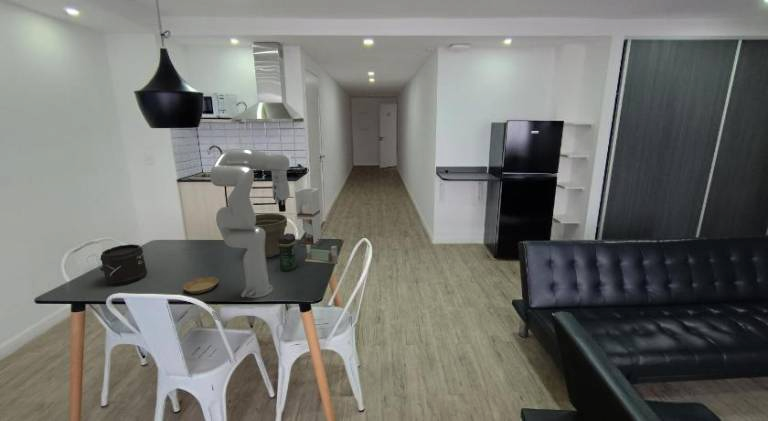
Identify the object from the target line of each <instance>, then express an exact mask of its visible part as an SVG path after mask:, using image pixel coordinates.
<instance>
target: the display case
mask: <svg viewBox="0 0 768 421" xmlns="http://www.w3.org/2000/svg"><path fill="white" fill-rule="evenodd" d="M319 190H320V189H319V188H309V187H308V188H301V189H298V190H296V191H295V192H294V193H295V194H294V195H295V204H296V205H295V208H296V218H297V219H296V220H302V221H301V222H302V229H303V231H304V232H305V233H307V234H306V235H307V236H306V237H304V238H303V239H302V240H301V241H299V244H298V246H300V247H306V245H308V244H309V245H311V248H312V247H313V248H315V247H317V246H318V245H319V244H320V243H321V242H322V241H323V238H322V224H321V223H322V222H321V220H322V219H321V206H320V205H321V204H320V191H319ZM318 239H322V240H318Z"/></svg>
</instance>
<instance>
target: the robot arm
mask: <svg viewBox="0 0 768 421" xmlns="http://www.w3.org/2000/svg"><path fill="white" fill-rule="evenodd" d="M290 164H291V163H290V159H289V158H288V156H287V155H284V154H279V153H270V152H265V151H259V150H253V149H251V148H229V149H226V150H224V151H223V152H222V154H221V155H220V156H219V157H218V159H217V160H216V161H215V163H214V164H213V166H212V168H211V169H210V172H209V179H210V181H211V183H212V184H213V185H214V186H216V187H228V188H230V187H231V188H232V187H233V189H232V191H231V192H230V194H229V196H228V198H227V205H228V206H223V207H220V208H219V209H218V210H217V212H216V215H215V216H216V217H215V221H216V226H217V228H218V230H219V232H220V234H221V237H222V240H223V241H224V243H225V245H226V246H227V247H230V248H245V249H247V250H246V251H245V253H244V255H243V258H242V259H243V260H242V261H243V267H244V277H245V285H246V286H245V289H244V290H243V291H242V293H241V294H240V296H241V297H242V298H245V297H246V298H250V299H257V298H262V297H266V296H268V295H269V294H271V293H272V292H273V290H274V289H273V286H272V284H269V277H268V267H267V257H266V255H265V240H266V233H265V231H264V229H262V228H260V227H257V226H255V224H256V216H255V215H256V213H255V211H254V208H253V204H252V203H251V199H250V198H251V197H250V194H251V191H252V187H253V183H254V180H255V174H254V170H256V171H266V172H271V181H272V185H271V186H272V187H271V188H272V189H271V190H272V199H273V200H274V202H275V203H276V204H277V205H278V212H279V213H284V212H286V211H287V210H286V209H287V208H286V204H287V199H288V198H290V196H291V192H290V186H289V181H288V177H287V171H288V170H289V168H290Z"/></svg>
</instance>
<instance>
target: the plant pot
mask: <svg viewBox="0 0 768 421" xmlns="http://www.w3.org/2000/svg"><path fill="white" fill-rule="evenodd" d="M255 216H256V224H255V226H257V227H260V228H262V229H264V231H265V233H266V240H265V255H266V258H272V257H275V256H277V255H280V253H279V245H278V238H280V237H281V236H283V235H285V230H286V227H288V226H287V225H288V217H287V216H286V215H284V214H280V213H260V214H255Z"/></svg>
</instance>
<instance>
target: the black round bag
mask: <svg viewBox="0 0 768 421" xmlns="http://www.w3.org/2000/svg"><path fill="white" fill-rule="evenodd" d="M99 259H100V261H101V265H102V266H101V267H100V268H99V269H100V272H103V275H104V282H105V283H107V284H108V285H109V286H115V287H116V286H125V285H130V284H133V283H136V282H139V281H141V280H143V279H144V278H146V275H147V273H148V270H147V267H146V266H147V265H146V260H145V256H144V250H143V247H142V246H140V244H131V243H130V244H124V245H117V246H114V247H111V248H108V249H106V250H105V249H104V251H102V252H101V254H100V258H99Z"/></svg>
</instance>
